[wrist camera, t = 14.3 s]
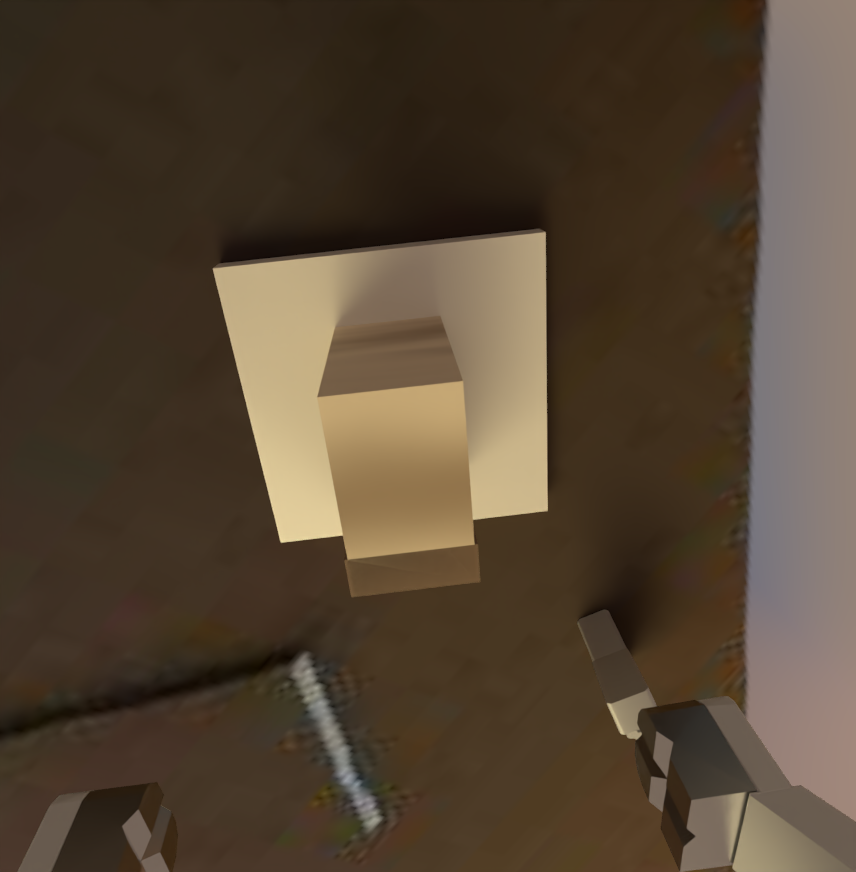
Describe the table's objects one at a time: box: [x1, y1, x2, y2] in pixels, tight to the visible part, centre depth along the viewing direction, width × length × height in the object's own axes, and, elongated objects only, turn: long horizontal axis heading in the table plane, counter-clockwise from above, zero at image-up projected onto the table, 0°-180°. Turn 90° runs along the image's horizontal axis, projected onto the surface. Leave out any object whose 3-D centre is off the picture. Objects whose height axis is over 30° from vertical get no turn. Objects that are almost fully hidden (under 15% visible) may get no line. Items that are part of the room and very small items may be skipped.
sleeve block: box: [317, 316, 480, 597], centre depth 21 cm, size 7×4×7 cm, turn 5°
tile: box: [213, 229, 548, 543], centre depth 24 cm, size 12×12×1 cm
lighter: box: [577, 609, 656, 739], centre depth 28 cm, size 7×2×8 cm, turn 25°
